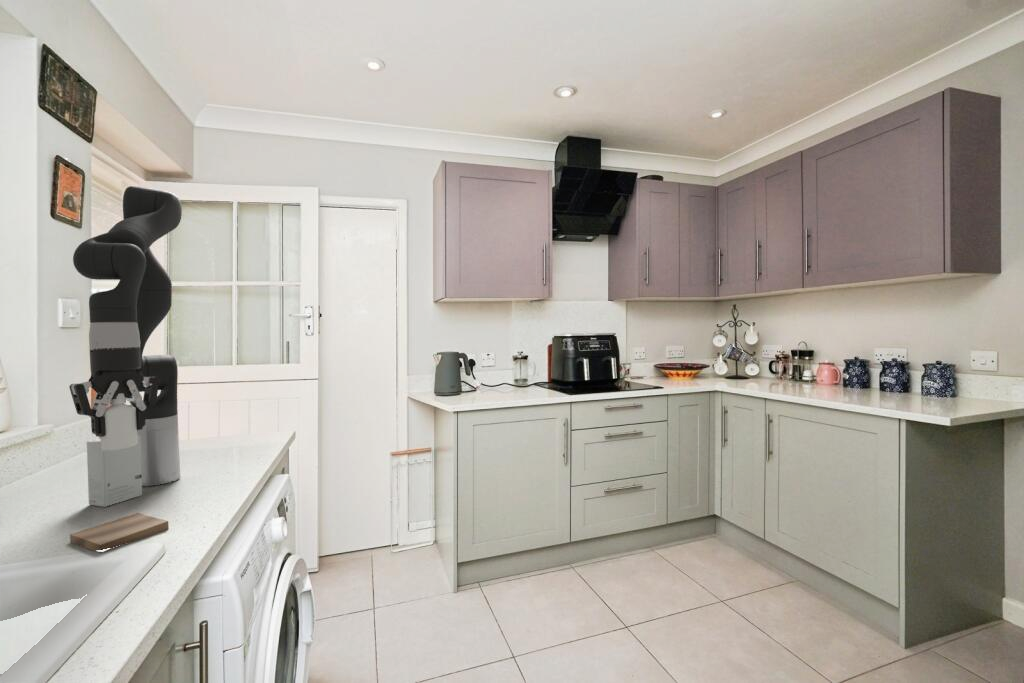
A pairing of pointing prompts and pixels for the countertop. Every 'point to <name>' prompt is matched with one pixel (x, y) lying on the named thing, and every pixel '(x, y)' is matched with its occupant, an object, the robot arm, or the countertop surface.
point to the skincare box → (113, 474)
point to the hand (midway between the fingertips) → (119, 432)
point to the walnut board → (119, 531)
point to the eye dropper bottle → (119, 425)
